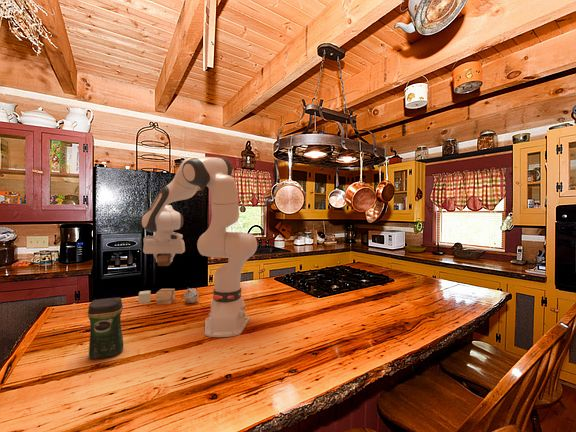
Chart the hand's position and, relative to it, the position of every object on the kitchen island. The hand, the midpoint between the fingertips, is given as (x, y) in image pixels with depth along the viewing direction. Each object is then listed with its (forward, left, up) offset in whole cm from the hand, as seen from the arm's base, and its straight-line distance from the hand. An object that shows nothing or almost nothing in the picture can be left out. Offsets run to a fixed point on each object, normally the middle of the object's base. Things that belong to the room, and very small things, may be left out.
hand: (164, 262), depth 141 cm
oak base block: (+1, 0, -21) cm, 21 cm away
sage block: (+2, +11, -21) cm, 24 cm away
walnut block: (0, 0, -2) cm, 2 cm away
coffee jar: (-50, +1, -21) cm, 55 cm away
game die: (-2, -14, -21) cm, 26 cm away
